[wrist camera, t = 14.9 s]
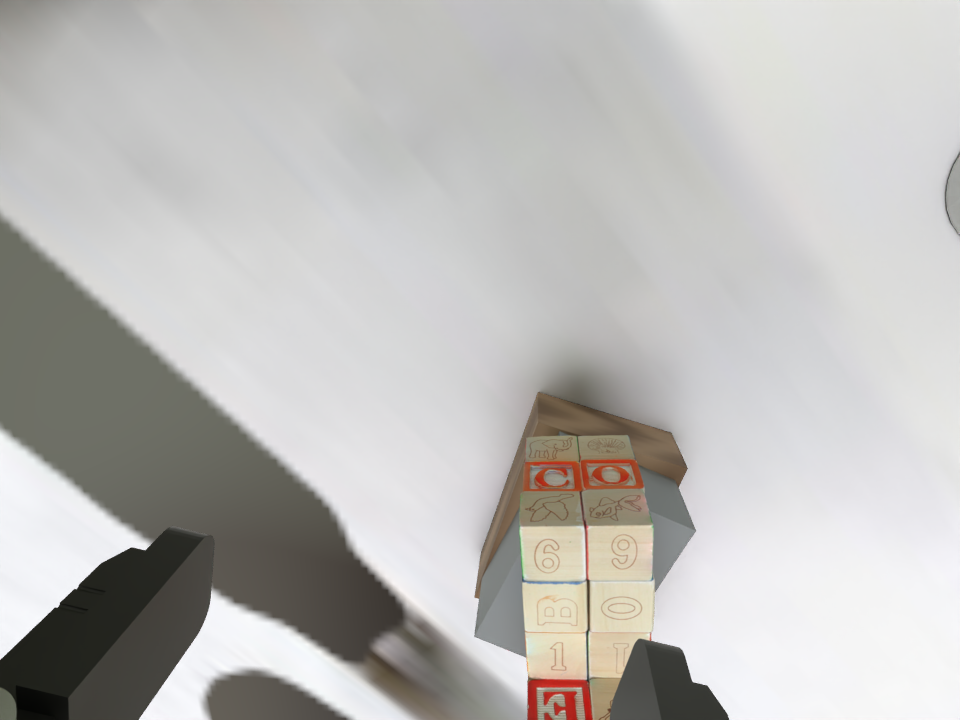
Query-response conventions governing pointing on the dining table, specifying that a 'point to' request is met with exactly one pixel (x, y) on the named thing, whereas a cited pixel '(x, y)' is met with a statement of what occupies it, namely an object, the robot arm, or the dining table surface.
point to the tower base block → (577, 420)
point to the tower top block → (504, 574)
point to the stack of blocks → (583, 571)
